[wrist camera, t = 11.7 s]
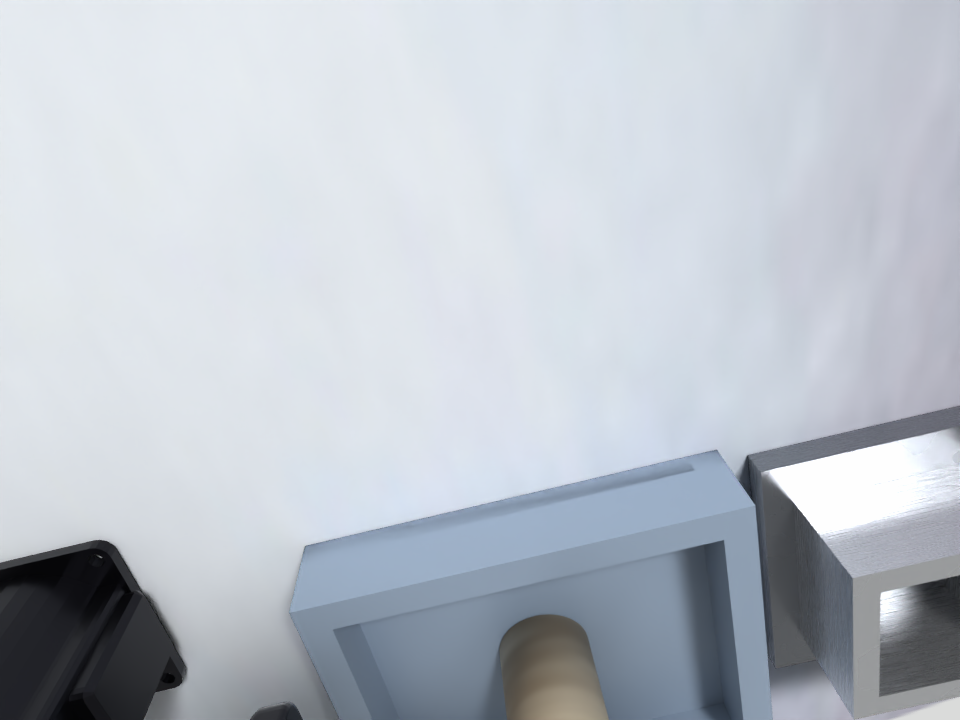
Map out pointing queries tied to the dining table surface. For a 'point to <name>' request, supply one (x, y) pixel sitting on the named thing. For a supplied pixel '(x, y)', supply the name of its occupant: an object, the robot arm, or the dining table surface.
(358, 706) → the tray
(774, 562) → the grey piece
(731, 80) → the dining table surface
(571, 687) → the orange-brown round-topped piece
